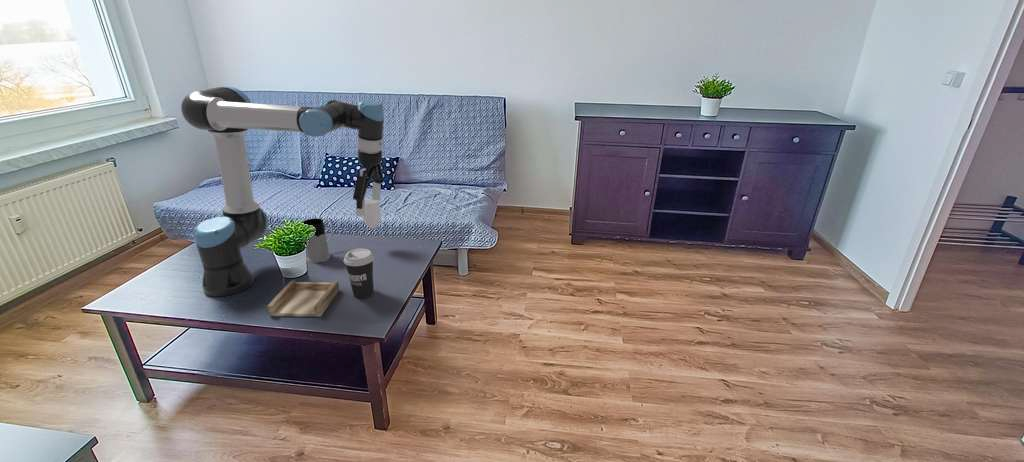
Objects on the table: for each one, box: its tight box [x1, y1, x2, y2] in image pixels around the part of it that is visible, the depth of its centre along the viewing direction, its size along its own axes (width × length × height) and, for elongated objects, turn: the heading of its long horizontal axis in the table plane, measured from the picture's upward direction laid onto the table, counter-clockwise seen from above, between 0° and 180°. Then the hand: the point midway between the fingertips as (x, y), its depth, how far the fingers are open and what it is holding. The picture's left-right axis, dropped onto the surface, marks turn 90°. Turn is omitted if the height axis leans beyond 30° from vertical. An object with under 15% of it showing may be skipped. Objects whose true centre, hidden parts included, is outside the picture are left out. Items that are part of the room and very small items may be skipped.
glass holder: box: [301, 217, 334, 264], centre depth 180 cm, size 9×14×15 cm, turn 158°
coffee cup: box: [343, 248, 375, 300], centre depth 153 cm, size 10×10×15 cm
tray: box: [266, 280, 340, 318], centre depth 150 cm, size 16×16×4 cm
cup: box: [362, 197, 382, 230], centre depth 184 cm, size 7×7×21 cm
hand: (368, 207), depth 160 cm, fingers open, 13 cm apart
